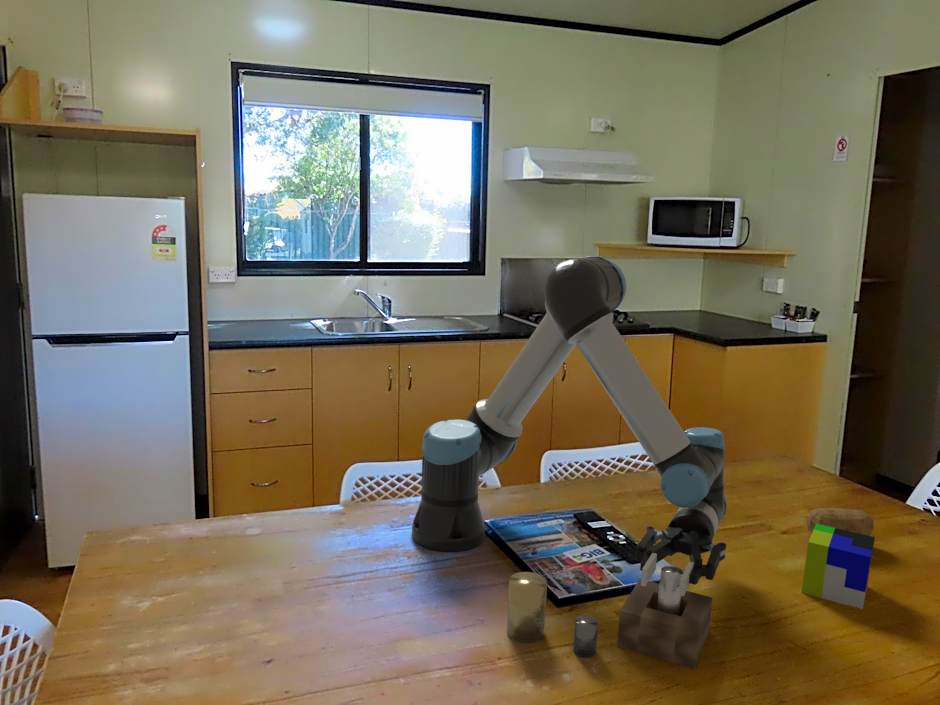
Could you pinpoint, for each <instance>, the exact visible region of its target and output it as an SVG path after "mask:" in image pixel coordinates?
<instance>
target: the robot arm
mask: <svg viewBox="0 0 940 705" xmlns="http://www.w3.org/2000/svg"><path fill="white" fill-rule="evenodd" d="M543 289H544V290H543V296H544V307H545V311H546V313H545V314H544V316H543V318H542V319H541V321H540V322H539V323H538V325H537V327H536V328H535V329H534V331H533V332H532V334H531V335H530V337H529V339H528V340H527V341H526V343H525V344H524V346H523V347H522V349H521V350H520V352H519V353H518V354H517V356H516V358H515V359H514V360H513V362H512V363H511V365H510V367H509V368H508V369H507V370H506V372H505V373H504V375H503V376H502V378H501V379H500V381H499V382H498V384H497V386H496V387H495V389H494V390H493V392H492V393H491V394H490V396H489V397H488V398H486V399H485V398H484V399H480V400H478V401H477V403H476V404H475V405H474V407H473V409H472V410H471V411H470V412H469V414H468V416H467V417H466V418H465V419H447V420H440V421H438V422H434V423H433V424H431V425H430V426H428V427H427V429H425V432H424V433H423V438H422V439H423V440H422V445H421V453H422V456H421V459H422V460H421V496H420V502H419V505H418V507H417V510H416V512H415V516H414V518H413V521H412V525H411V538H412V540H413V541H414V542H415V543H416V544H417V545H419V546H421V547H424V548H426V549H430V550H433V551H434V550H435V551H441V552H461V551H466V550H471V549H473V548H476V547H477V546H478V547H479V545H481V544H482V543H483V542H484V540H485V537H486V525H485V521H484V518H483V515H482V512H481V511H482V510H481V508H480V505H479V484H480V483H479V480H480V477H482V475H484V474H486V473H487V472H488V471H490V470H492V469H493V468H495V467H497V466H499V465H501V464H502V463H504V462H505V461H507V460H508V459H509V458H510V457H511V455H512V454H513V452H514V451H515V449H516V448H517V444H518V439H519V438H520V436H521V435H522V433H523V425H522V421H523V420H524V418H526V416H527V414H528V413H529V411H530V410H531V409H532V407H533V406H534V405H535V403H536V402H537V401H538V399H539V398H540V396H541V395H542V394H543V392H544V391H545V389H546V388H547V387H548V385H549V384H550V382H551V381H552V379H553V378H554V376H556V374H557V372H558V371H559V370H560V368H561V367H562V366H563V364H564V362H565V361H566V360H567V359H568V357H569V356H570V354H571V353H572V352H573V350H574V349H575V348H576V347H577V348H578V350H579V351H580V353H581V355H582V356H583V358H584V359H585V361H586V363H587V364H588V366H589V367H590V369H591V370H592V372H593V374H595V377H596V378H597V380H598V381H599V383H600V384H601V385H602V387H603V389H604V390H605V392H606V394H608V396H609V398H610V399H611V401H612V403H613V404H614V406H615V407H616V408H617V410H618V412H619V414H620V415H621V416H622V418H623V419H624V421H625V422H626V424H627V426H628V428H629V429H630V430H631V432H632V434H633V435H634V436H635V438H636V440H637V441H638V443H639V444H640V447H642V449H643V450H644V453H646V455H647V456H648V458H649V459H650V461H651V463H652V464H653V466H654V468H655V469H656V470H657V472H658V474H659V475H660V477H661V480H660V488H661V490H660V491H661V492H662V495H663V497H664V499H666V500H667V501H668V503H670V504H671V505H673V506H675V507H678V510H677V511H676V512H675V514H674V516H673V517H672V519H671V520H670V522H669V524H668V526H667V528H663V529H662V531H660V530H659V531H658V530H657V529H655V527H653V526H650V525H649V526H646V532H645V534H644V535H643V536H642V538H641V539H640V540H639V542H638V543H637V545H636V548H635V559H634V561H635V562H637V563H640V565H639V571H641V577H640V579H641V586H645V587H646V585H647V583H648V582H649V581H650V580H651V578H652V577H653V575H654V573H655V571H656V570H657V564H658V563H659V562H661V561H662V560H664V559H665V558H667V557H668V556H669V557H672V556H674V555H675V554H676V553H677V554H679V553H681V554H683V555H686V556H688V557H689V559H688V560H689V561H688V563H687V565H686V566H685V569H684V571H683V572H684V573H683V574H682V576H681V578H680V588H679V595H680V596H684V595H685V593H686V591H688V588H689V586H690V585H697V584H698V583H699V580H700V579H701V577H704V578H705V579H707V580H708V581H713V580H714V578H715V576H716V573H717V570H718V568H719V565H720V562H721V561H723V560H725V558H726V552H727V544H726V543H725V542H721V541H720V542H718V543H715V542H714V543H713V539H714V537H715V535H716V533H717V530H718V528H719V526H720V524H721V522H722V520H723V519H724V518H725V517H724V516H725V515H726V512H727V505H728V502H727V498H726V495H725V485H724V484H725V481H724V480H725V451H726V446H725V436H724V433H723V432H722V431H721V430H719V429H716V428H713V427H705V426H704V427H703V426H700V427H699V426H698V427H697V426H696V427H691V428H688V429H686V430H685V431H684V429H683V428H682V426H681V424H680V423H679V422H678V421H677V418H676V417H675V416H674V414H673V413H672V411H671V410H670V408H669V407H668V406H667V404H666V402H665V401H664V400H663V398H662V396H661V394H660V393H659V392H658V390H657V388H656V387H655V385H654V384H653V383H652V380H651V379H650V378H649V376H648V375H647V373H646V371H645V370H644V369H643V367H642V365H641V364H640V363H639V361H638V359H637V358H636V356H635V355H634V353H633V352H632V350H631V349H630V347H629V346H628V344H627V342H626V341H625V340H624V338H623V337H622V335H621V334H620V332H619V330H618V329H617V327H616V326H615V325H614V323H613V319H614V311H615V310H616V309H618V308H619V306H621V304H622V303H623V300H624V299H625V297H626V294H627V293H626V292H627V283H626V277H625V275H624V272H623V270H622V269H621V268H620V266H618V265H617V264H616V263H615V262H614V261H612V260H610V259H608V258H606V257H602V256H598V255H590V256H585V257H580V258H579V257H578V258H576V257H575V258H569V259H566V260H563V261H561V262H559V263H558V264H556V265H555V266H554V267H553V268H552V269H551V270H550V271H549V274H548V275H547V277H546V279H545V282H544V287H543ZM659 540H660V541H659ZM657 541H659V542H657ZM704 553H710V554H709V556H708V559H707V562H706V564H703V558H702V554H704Z"/></svg>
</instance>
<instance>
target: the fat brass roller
mask: <svg viewBox="0 0 940 705" xmlns="http://www.w3.org/2000/svg"><path fill="white" fill-rule="evenodd" d="M547 586H548V581H547V579H546V578H545V577H544V576H543V575H541V574H538V573H537V572H530V571H521V572H515V573H514V574H512V575H510V576H509V579H508V593H507V594H508V596H507V597H508V598H507V615H506V616H507V617H506V634H507V636H508V637H509V639H511V640H513V641H515V642H517V643H522V644H533V643H534V644H535V643H537V642H540V641H541V640H543V638H544V636H545V624H546V623H545V621H546V605H547V590H548V589H547Z"/></svg>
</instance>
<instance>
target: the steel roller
mask: <svg viewBox="0 0 940 705" xmlns="http://www.w3.org/2000/svg"><path fill="white" fill-rule="evenodd" d="M683 573H684V571H683V570H682V569H681V568H678V567H676V566H672V565H665V566H662V567H661V570H660V576H659V577H660V580H659V584H660V585H659V593H658V602H657V610H658V611H662V612H666V613H669V614H673V615H677V616H679V611H680V603H681V596H680V595H679V588H680V578H681V576H682V574H683Z"/></svg>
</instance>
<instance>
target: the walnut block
mask: <svg viewBox="0 0 940 705" xmlns="http://www.w3.org/2000/svg"><path fill="white" fill-rule="evenodd" d="M659 585H660V583H658V582H654V581H650V580H649V582H648V583H647V585H646V587H645V586H641V578H640V579H638V581H637V583H636V584H635V586H634V587H633V589H632V591H631V592H630V593H629V595H628V597H627V599H626V600H625V602H624V603H623V605H622V606H621V608H620V610H619V620H618V630H617V640H616V646H617V647H620V648H622V649H627V650H630V651H633V652H637V653H640V654H643V655H647V656H650V657H653V658H656V659H659V660H663V661H667V662H668V663H669V662H670V663H673V664H677V665H680V666H683V667H686V668H689V669H692V670H696V667H697V664H698V662H699V659H700V656H701V654H702V651H703V648H704V645H705V644H706V640H707V638H708V635H709V633H710V626H711V616H712V608H713V599H714V598H713V597H712V596H708V595H705V594H704V595H703V594H700V593H698V592H697V593H696V592H693V591H689V590H687V591H686V593H685V595H684V596H681V603H680V611H679V616H677V615H673V614H669V613H666V612H662V611H658V610H657V602H658V593H659Z"/></svg>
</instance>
